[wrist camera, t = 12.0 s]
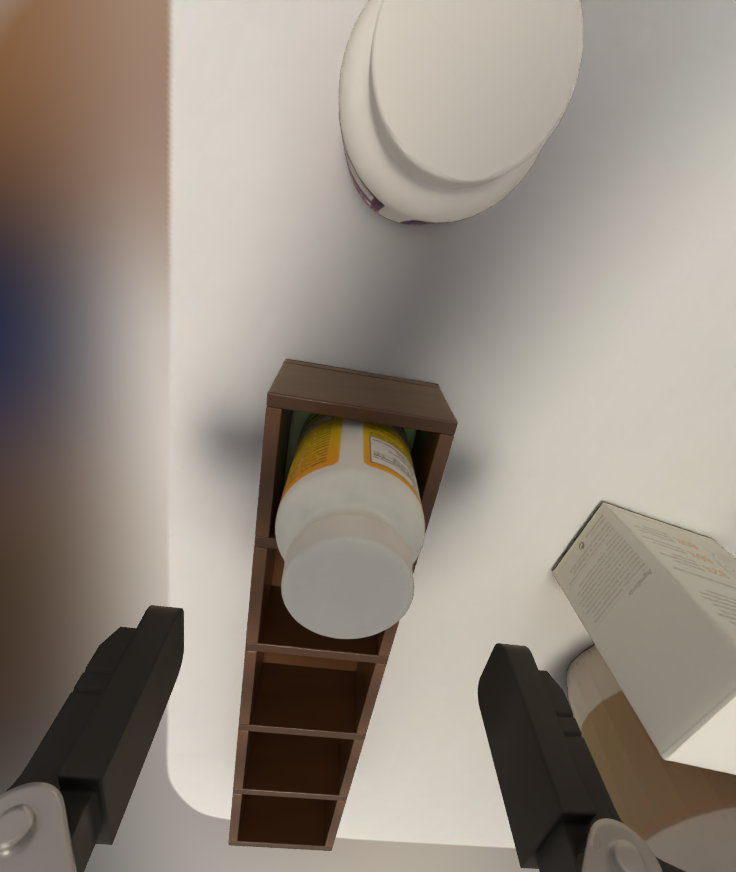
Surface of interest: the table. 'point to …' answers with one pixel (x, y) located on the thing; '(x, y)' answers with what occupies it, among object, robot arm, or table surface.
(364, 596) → the supplement bottle
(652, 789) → the coffee cup
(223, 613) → the table surface
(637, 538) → the small box
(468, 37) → the pill bottle
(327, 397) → the grid
